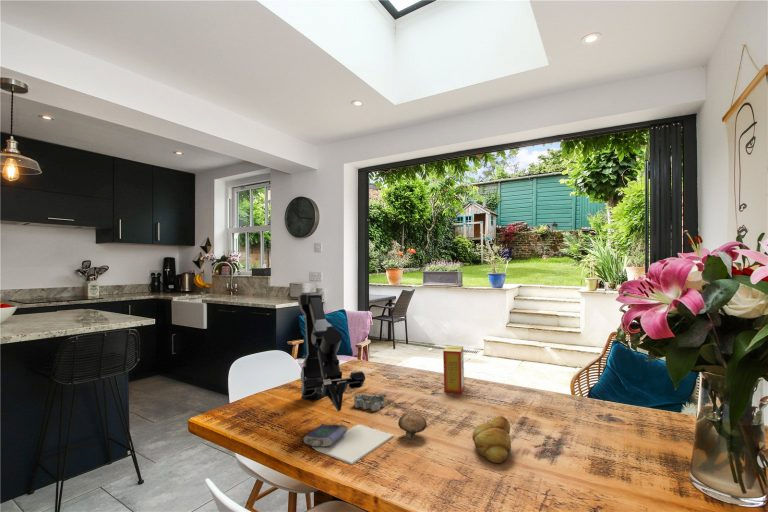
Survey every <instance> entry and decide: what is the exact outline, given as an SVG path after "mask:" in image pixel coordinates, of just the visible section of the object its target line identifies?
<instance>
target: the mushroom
mask: <svg viewBox="0 0 768 512" xmlns="http://www.w3.org/2000/svg"><path fill="white" fill-rule="evenodd" d="M397 425H398V427H399V428H400V430H403V431H404V432H405V436H406V437H407V438H408V439H410V440H415V438H416V434H418V433H422V432H424V431H425V430H426V428H427V426H428V424H427V420H426V419H425V417H424V416H423V415H421V414H420V413H416V412H406V413H404V414H402V415H400V417H399V419H398V423H397Z"/></svg>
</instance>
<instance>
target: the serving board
mask: <svg viewBox="0 0 768 512" xmlns="http://www.w3.org/2000/svg"><path fill="white" fill-rule="evenodd" d="M394 436H395V435H394V434H392V433H388V432H385V431H381V430H378V429H375V428H372V427H368V426H365V425H362V424H357V425H354V426H353V427H351V428H349V429H347V432H346V433H345V434H344V435H343V436H341V437H340V438H339V439H338V440H336V441H335V442H334V443H333V444H332V445H330V446H324V447H317V446H316V447H317V448H316V447H315V449H314V451H316V452H318V453H321V454H325V455H327V456H328V457H332V458H334V459H337V460H339V461H341V462H344V463H347V464H349V465H354V464H355V463H357V462H358V461H359V460H361V459H362V458H364V457H365V456H367V455H369V454H370V453H372V452H373V451H374V450H376V449H377V448H379V447H381V446H383V444H384V443H387V442H388V441H389V440H391V439H392V438H394Z"/></svg>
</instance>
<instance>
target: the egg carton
mask: <svg viewBox="0 0 768 512" xmlns="http://www.w3.org/2000/svg"><path fill="white" fill-rule="evenodd" d="M386 397H387V394H385V393H379V394H375V395H374V394H365V393H359V394H356V395H354V396H352V398H353V405H354V408H362V409H363V410H367V409H368V410H369V409H370V410H371V411H372V412H374V411H380V410H381V408H384V407H386V402H385V401H386V400H385V399H386Z"/></svg>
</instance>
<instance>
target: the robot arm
mask: <svg viewBox="0 0 768 512" xmlns="http://www.w3.org/2000/svg"><path fill="white" fill-rule="evenodd" d="M297 303H298V306H299V310H300V311H301V313H302V315H303V316H304V327H305V329H304V330H305V341H306V343H305V344H306V356H305V358H304V360H303V362H302V366H301V371H300V381H301V382H302V384H301V388H300V390H301V391H300V392H301V399H305V400H309V401H313V402H314V401H315V400H316V401H317V400H318V399H321V398H328V399H329V400H330V402H331V403H332V405H333V406H334V408H335V409H336V410H337V412H340V411H342V407H343V396H344V393H345V392H346V390H347V388H348V387H349V388H350V389H351V390H354V389H360V388H363V385H364V383H365V382H366V375H365V373H364V372H363V371H353V372H350V375H349V377H343V371H341V366H340V359H338V354H337V353H338V351H339V349H340V345H341V342H342V340H343V334H342V333H341V331H339V330H338V329H335V328H334V326H333V325H332V324H331V323H330V322H328V320H327V317H326V315H325V310H324V305H323V294H321V293H318V292H317V291H315V292H314V291H313V292H310V291H309V292H301V293H300V295H298V296H297Z"/></svg>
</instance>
